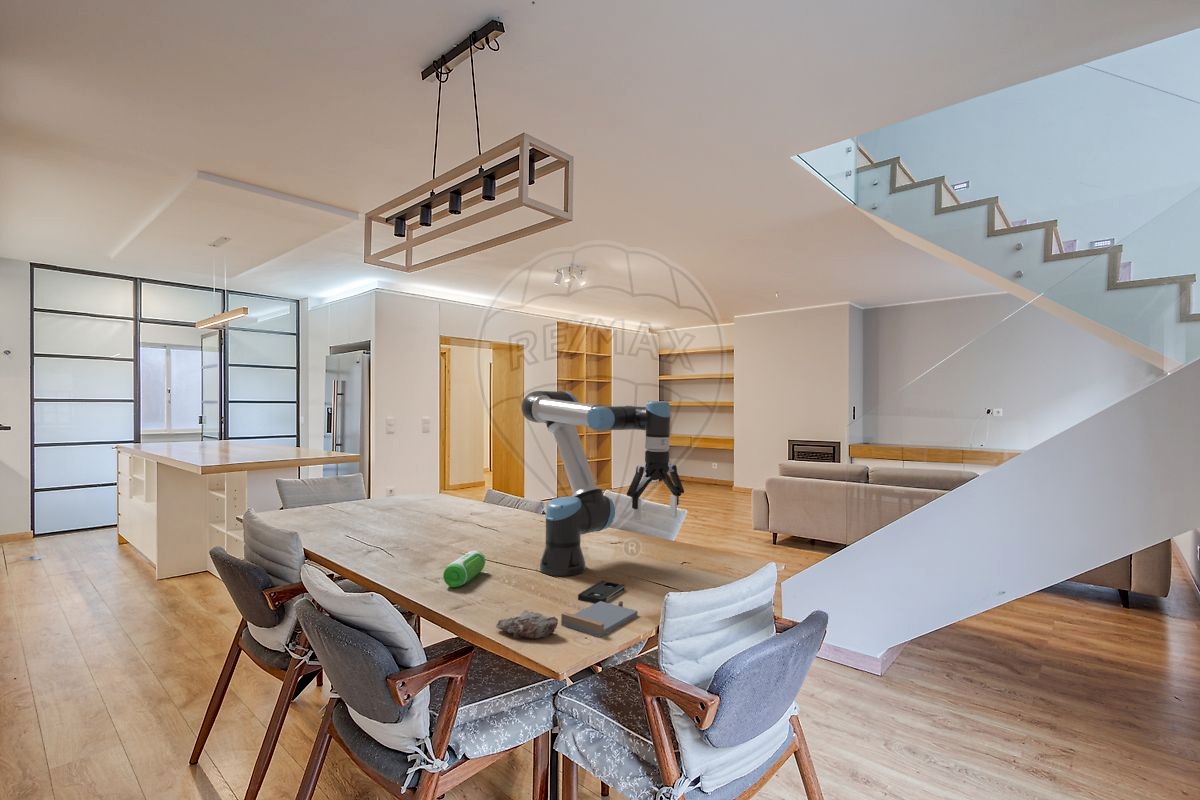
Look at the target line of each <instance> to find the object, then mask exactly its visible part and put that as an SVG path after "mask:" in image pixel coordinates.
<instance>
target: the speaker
mask: <svg viewBox="0 0 1200 800" xmlns="http://www.w3.org/2000/svg"><path fill="white" fill-rule="evenodd" d="M486 563H487V562H486V557H485V555H484V553H482V552H481V551H478V550H471V551H468V552H466V553H465V554H464V555H462V556H460V557H459V558H457V559H456V560H454V561H452V562H451V563H449V564H448V565H447V566H446V567H445V569H444V571H443V575H442V577H443V581H444V583H445V584H446V585H447V586H449V587H451V588H458V587H462V586H463V585H466V584H468V583H469V582H470V581H472V579H474V578H476V576H477V575H478V574H479V573H481V572H482V571H483V570H484V568H485V566H486Z"/></svg>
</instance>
